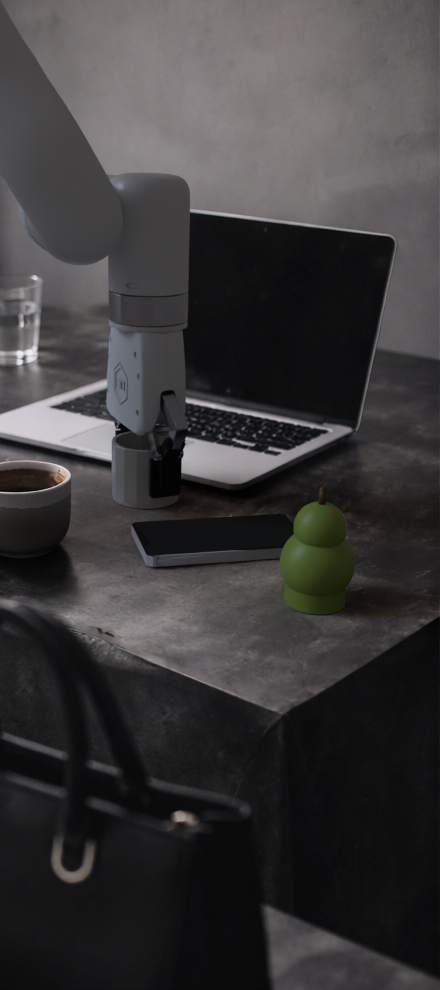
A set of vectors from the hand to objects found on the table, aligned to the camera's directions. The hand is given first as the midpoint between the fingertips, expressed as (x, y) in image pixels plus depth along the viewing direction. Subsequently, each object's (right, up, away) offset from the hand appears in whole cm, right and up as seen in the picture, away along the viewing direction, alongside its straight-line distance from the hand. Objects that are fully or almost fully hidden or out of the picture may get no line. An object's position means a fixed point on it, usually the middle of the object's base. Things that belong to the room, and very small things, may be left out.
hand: (147, 480), depth 99 cm
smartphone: (+7, -6, -10) cm, 14 cm away
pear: (+15, -10, -20) cm, 27 cm away
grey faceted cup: (0, -2, +1) cm, 2 cm away
